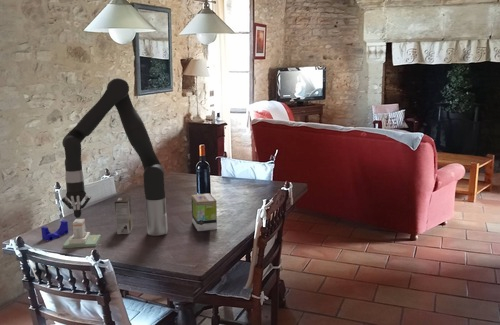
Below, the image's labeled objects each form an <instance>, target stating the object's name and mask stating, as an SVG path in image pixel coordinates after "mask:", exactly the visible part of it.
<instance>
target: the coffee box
mask: <svg viewBox="0 0 500 325" xmlns="http://www.w3.org/2000/svg"><path fill="white" fill-rule="evenodd" d="M114 209H115V212H114V213H115V222H116V225H115V226H116V234H117V235H130V234H131V232H132V229H133V216H132V200H131V196H116V199H115V201H114Z"/></svg>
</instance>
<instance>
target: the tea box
mask: <svg viewBox="0 0 500 325" xmlns="http://www.w3.org/2000/svg"><path fill="white" fill-rule="evenodd" d="M190 199H191V221H192V222H191V223H192V224H193V226H194V227H195V229H196V231H197V232H204V231H211V230H217V228H218V225H217V224H218V221H217V220H218V216H217V215H218V214H217V213H218V212H217V211H218V210H217V208H218V207H217V200H216V198H215V197H214V196H213V195H212V194H211V193H209V192H208V193H201V194H200V193H199V194H191V198H190Z"/></svg>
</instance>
